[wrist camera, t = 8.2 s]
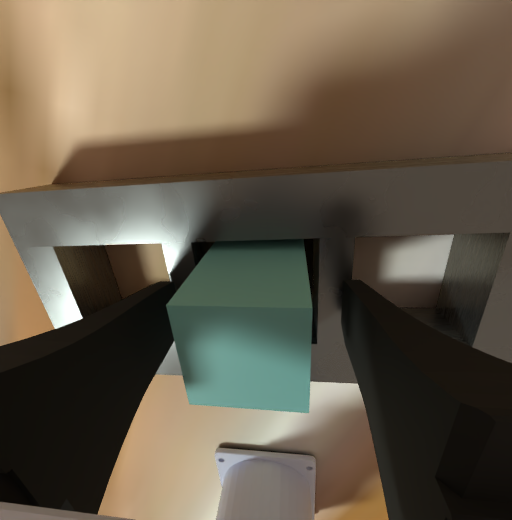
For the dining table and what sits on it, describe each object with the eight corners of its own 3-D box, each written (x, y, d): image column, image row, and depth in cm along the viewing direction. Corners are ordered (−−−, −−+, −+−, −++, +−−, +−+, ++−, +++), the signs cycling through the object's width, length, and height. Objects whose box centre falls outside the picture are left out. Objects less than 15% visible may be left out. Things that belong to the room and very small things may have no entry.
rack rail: (464, 344, 15) (504, 390, 12) (108, 335, 18) (74, 370, 15) (525, 151, 11) (606, 154, 8) (50, 184, 14) (-9, 194, 11)
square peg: (301, 296, 15) (308, 413, 8) (231, 295, 15) (189, 404, 9) (301, 228, 13) (312, 308, 7) (224, 229, 14) (166, 305, 7)
